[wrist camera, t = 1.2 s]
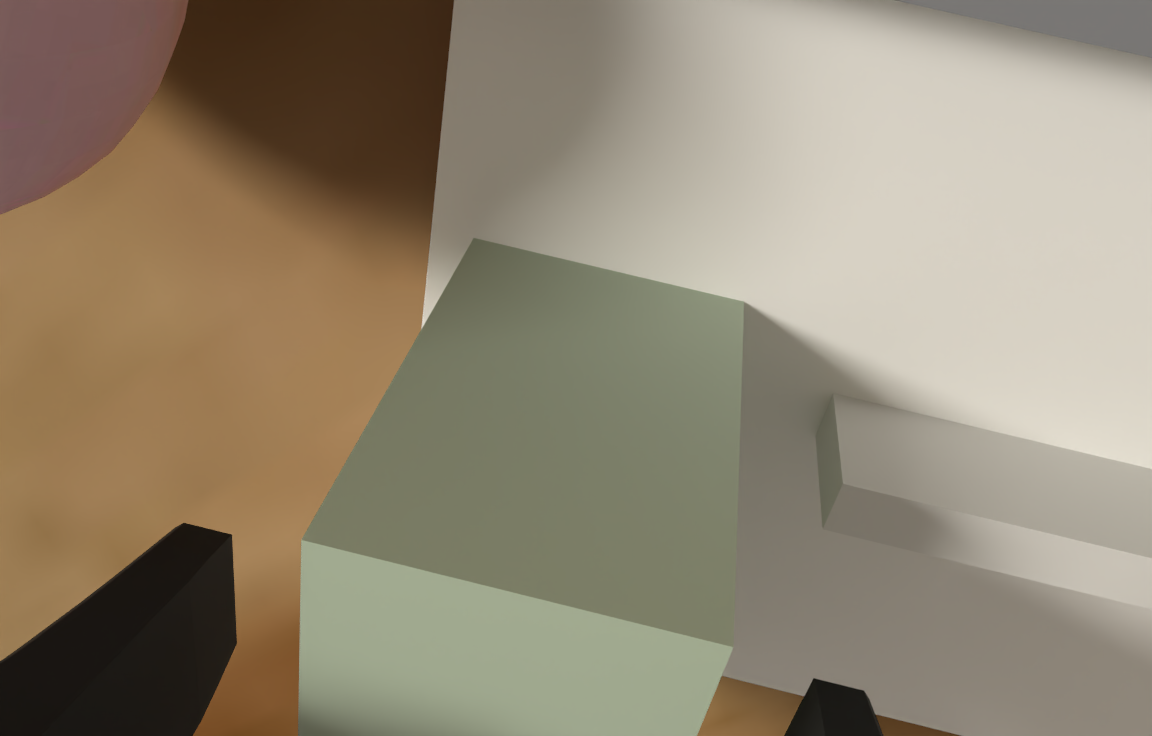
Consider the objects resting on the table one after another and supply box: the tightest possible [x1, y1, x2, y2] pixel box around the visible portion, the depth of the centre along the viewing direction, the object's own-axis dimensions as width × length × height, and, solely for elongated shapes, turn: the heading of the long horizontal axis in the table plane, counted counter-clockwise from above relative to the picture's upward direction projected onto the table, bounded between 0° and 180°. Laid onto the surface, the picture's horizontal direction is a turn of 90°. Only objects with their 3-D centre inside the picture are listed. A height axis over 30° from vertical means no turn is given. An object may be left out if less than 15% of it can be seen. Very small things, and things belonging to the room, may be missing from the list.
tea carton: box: [298, 238, 744, 736], centre depth 13 cm, size 7×4×6 cm, turn 170°
